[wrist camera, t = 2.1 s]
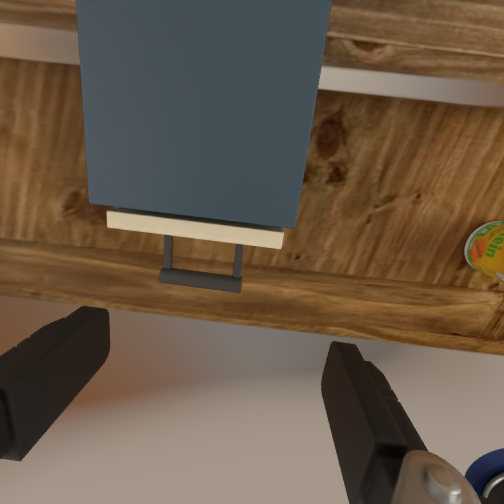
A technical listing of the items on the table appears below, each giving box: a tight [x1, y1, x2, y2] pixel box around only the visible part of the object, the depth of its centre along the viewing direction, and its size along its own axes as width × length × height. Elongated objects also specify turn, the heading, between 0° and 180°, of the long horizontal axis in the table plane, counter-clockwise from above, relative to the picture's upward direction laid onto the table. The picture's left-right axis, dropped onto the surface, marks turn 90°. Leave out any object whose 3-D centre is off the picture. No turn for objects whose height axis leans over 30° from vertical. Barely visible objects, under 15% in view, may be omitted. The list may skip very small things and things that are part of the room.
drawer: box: [107, 208, 284, 293], centre depth 21 cm, size 20×12×9 cm, turn 173°
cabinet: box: [76, 0, 332, 229], centre depth 20 cm, size 16×14×11 cm
